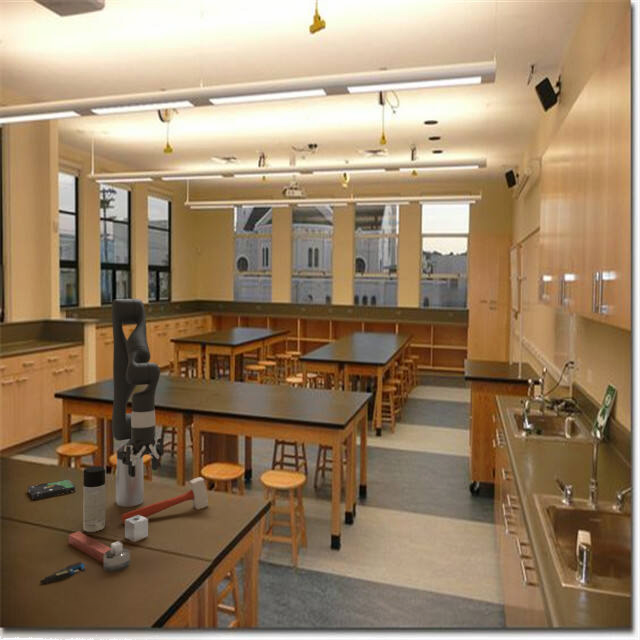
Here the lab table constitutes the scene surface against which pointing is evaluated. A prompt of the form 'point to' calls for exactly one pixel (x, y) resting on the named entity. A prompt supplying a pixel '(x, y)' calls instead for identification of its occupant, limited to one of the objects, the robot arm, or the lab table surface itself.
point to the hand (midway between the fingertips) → (143, 473)
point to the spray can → (94, 499)
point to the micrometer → (63, 573)
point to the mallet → (175, 501)
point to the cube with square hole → (136, 528)
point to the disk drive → (50, 489)
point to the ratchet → (102, 551)
